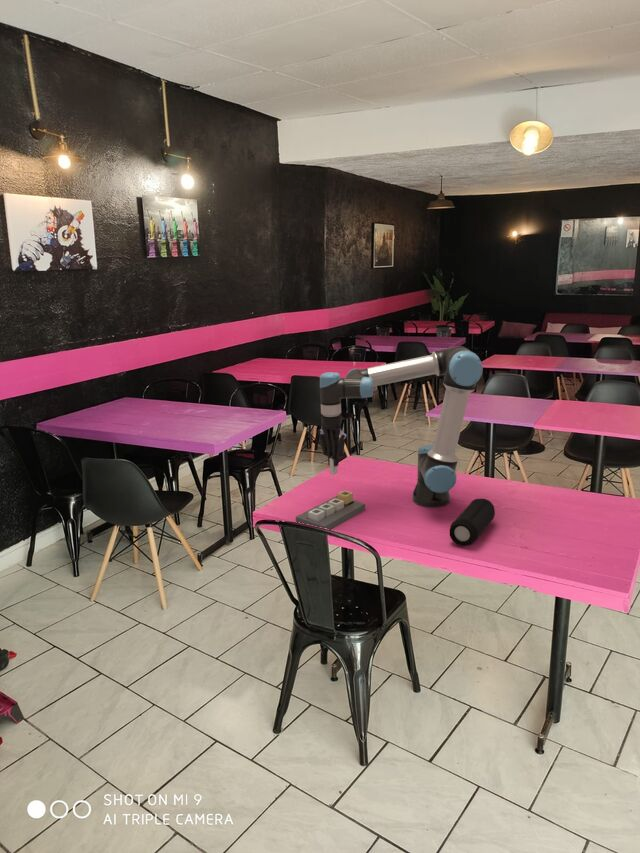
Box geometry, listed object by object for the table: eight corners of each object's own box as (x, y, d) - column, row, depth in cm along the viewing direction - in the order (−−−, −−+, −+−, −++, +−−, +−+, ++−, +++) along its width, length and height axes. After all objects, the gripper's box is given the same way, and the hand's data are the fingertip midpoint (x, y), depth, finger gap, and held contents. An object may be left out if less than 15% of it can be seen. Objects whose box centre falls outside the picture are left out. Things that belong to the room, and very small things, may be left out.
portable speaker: (470, 518, 240) (471, 494, 237) (496, 523, 235) (497, 499, 232) (446, 545, 219) (447, 519, 216) (474, 551, 214) (475, 525, 211)
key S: (353, 500, 249) (352, 492, 248) (346, 504, 246) (346, 496, 245) (344, 498, 252) (344, 490, 251) (337, 501, 249) (337, 493, 248)
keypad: (365, 509, 249) (365, 503, 248) (324, 532, 229) (324, 526, 229) (337, 501, 257) (337, 495, 256) (295, 522, 238) (295, 516, 237)
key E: (324, 519, 236) (324, 510, 235) (317, 523, 233) (317, 514, 232) (315, 516, 239) (315, 507, 238) (308, 520, 236) (308, 511, 235)
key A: (334, 514, 241) (334, 505, 240) (327, 517, 238) (327, 509, 237) (325, 511, 243) (325, 502, 242) (318, 515, 240) (318, 506, 239)
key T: (343, 508, 245) (343, 500, 244) (337, 512, 242) (336, 504, 241) (335, 506, 248) (335, 498, 247) (328, 509, 245) (328, 501, 244)
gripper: (351, 414, 232) (353, 473, 238) (323, 409, 239) (326, 467, 246) (339, 418, 226) (341, 479, 233) (311, 414, 234) (314, 473, 240)
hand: (333, 473), depth 239 cm, fingers closed
